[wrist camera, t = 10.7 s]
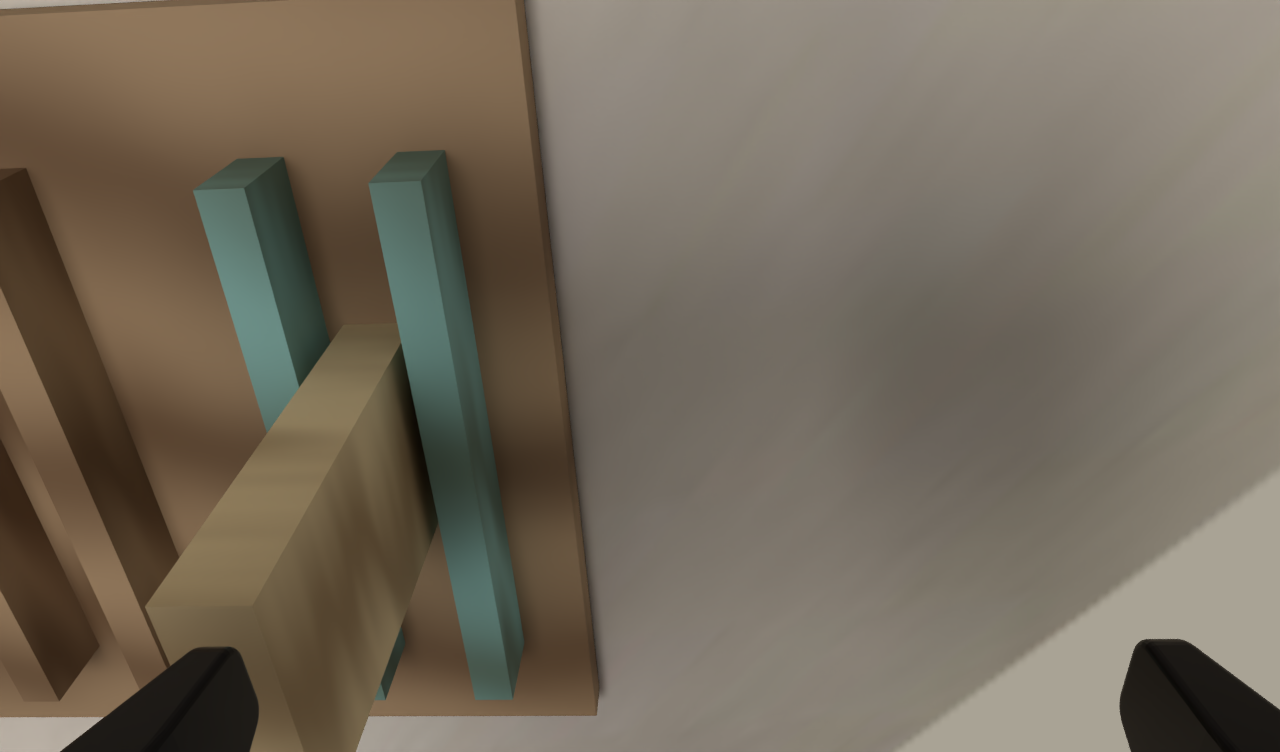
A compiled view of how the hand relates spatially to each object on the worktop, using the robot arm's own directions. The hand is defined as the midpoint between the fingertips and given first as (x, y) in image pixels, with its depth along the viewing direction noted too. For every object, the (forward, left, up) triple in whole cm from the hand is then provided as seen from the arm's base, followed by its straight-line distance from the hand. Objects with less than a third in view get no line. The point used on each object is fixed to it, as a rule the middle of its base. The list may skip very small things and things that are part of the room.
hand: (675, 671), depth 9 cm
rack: (-5, +15, -13) cm, 20 cm away
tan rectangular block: (-4, +7, -12) cm, 15 cm away
